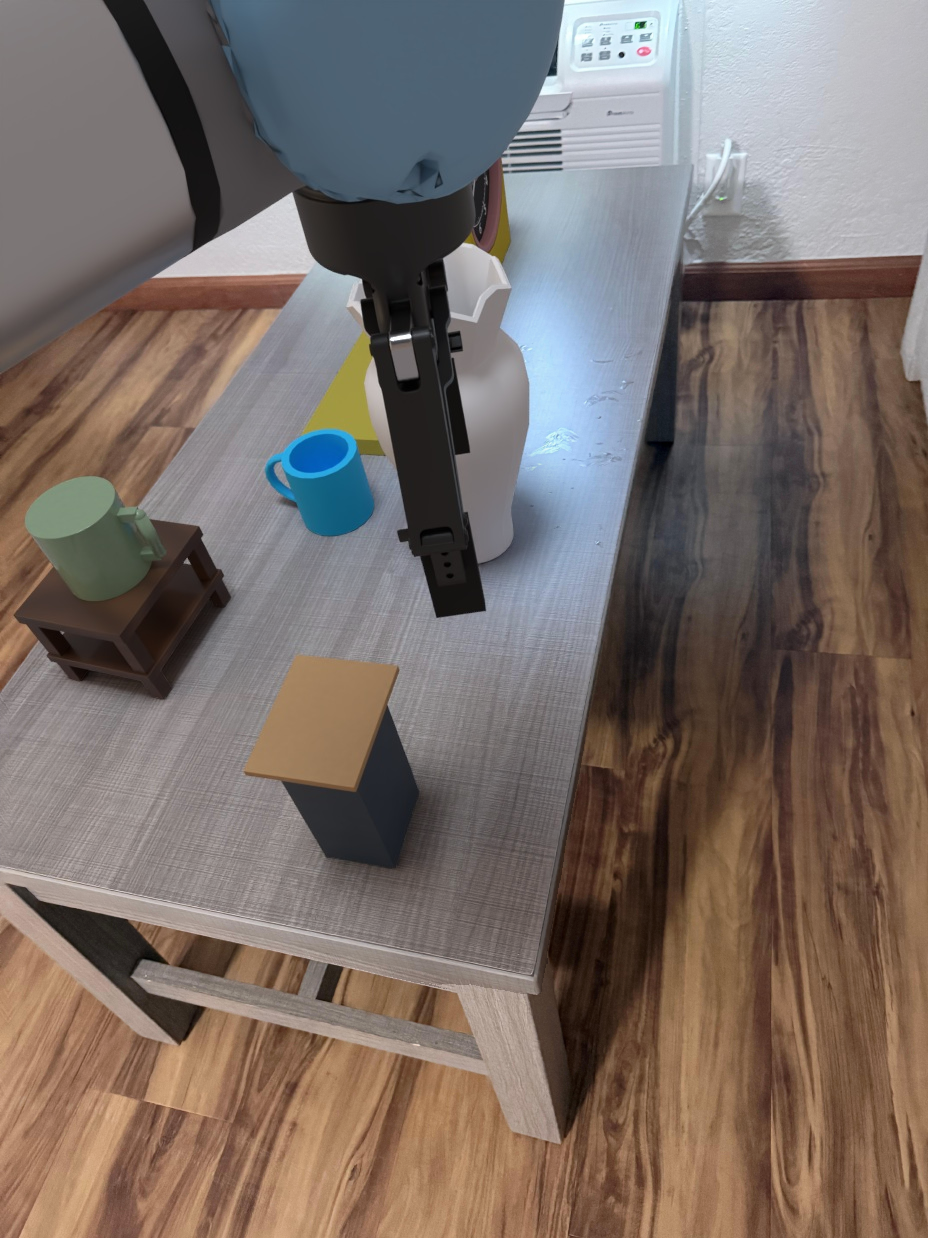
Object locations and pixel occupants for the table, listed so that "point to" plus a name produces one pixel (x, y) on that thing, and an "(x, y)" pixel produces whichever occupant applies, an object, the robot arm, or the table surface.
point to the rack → (129, 614)
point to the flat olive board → (349, 401)
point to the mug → (325, 481)
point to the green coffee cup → (93, 537)
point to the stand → (340, 757)
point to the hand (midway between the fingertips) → (454, 524)
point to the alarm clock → (490, 213)
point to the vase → (476, 395)
